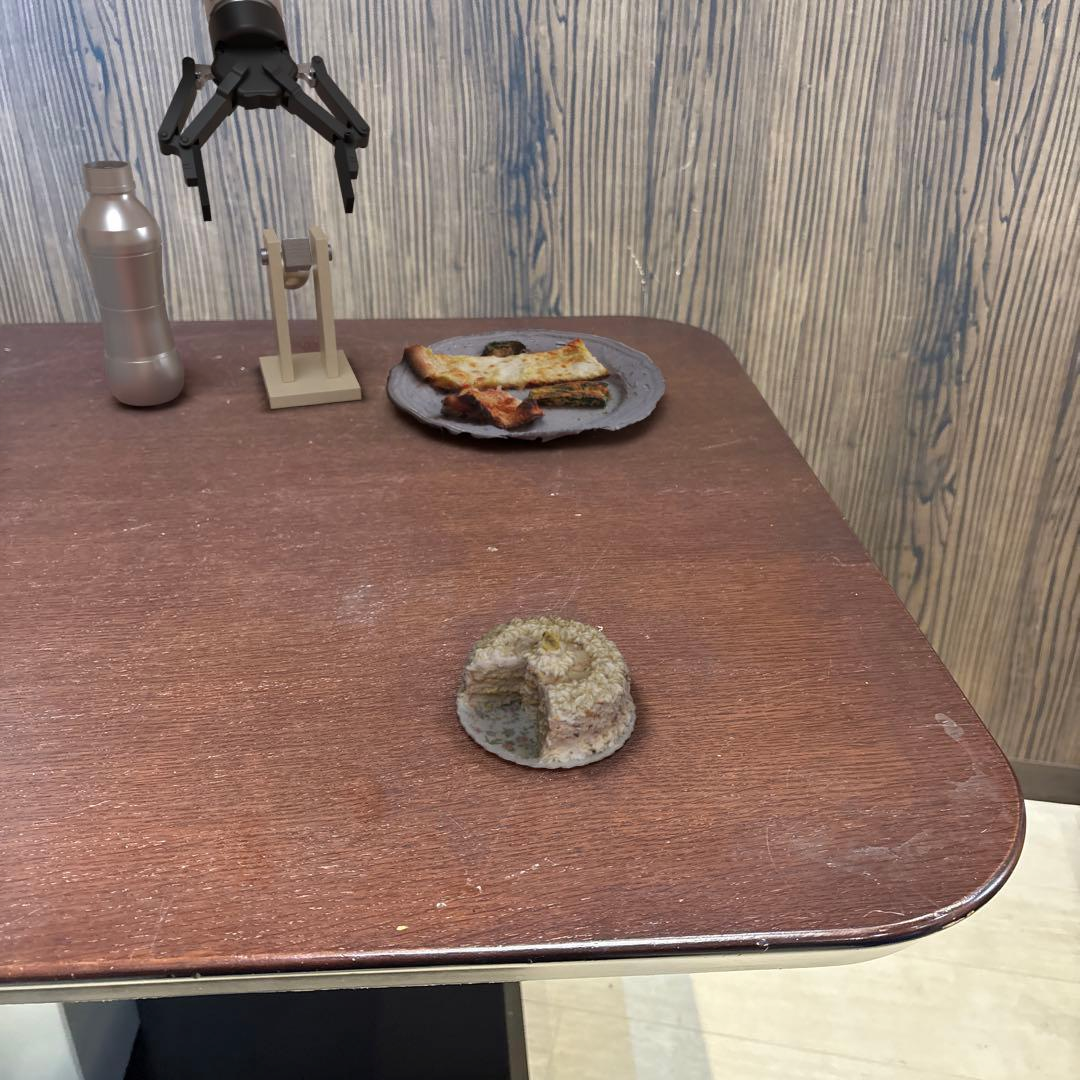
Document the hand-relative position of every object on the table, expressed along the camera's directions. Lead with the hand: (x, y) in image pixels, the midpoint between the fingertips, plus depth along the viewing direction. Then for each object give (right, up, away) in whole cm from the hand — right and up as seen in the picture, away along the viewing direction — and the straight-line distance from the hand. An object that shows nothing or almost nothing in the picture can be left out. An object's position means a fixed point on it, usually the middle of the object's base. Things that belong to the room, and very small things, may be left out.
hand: (279, 210), depth 98 cm
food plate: (+24, -19, -6) cm, 31 cm away
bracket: (+4, -17, -4) cm, 18 cm away
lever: (+3, -9, -6) cm, 11 cm away
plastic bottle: (-10, -20, -8) cm, 23 cm away
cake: (+26, -41, -42) cm, 65 cm away
